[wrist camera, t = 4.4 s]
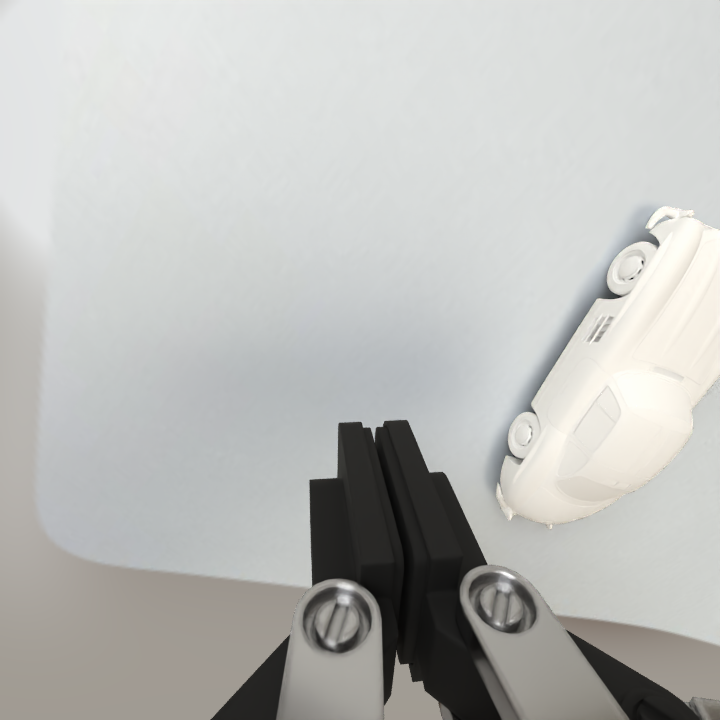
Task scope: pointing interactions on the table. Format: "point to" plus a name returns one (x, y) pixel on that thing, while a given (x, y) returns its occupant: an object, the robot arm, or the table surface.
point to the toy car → (622, 380)
